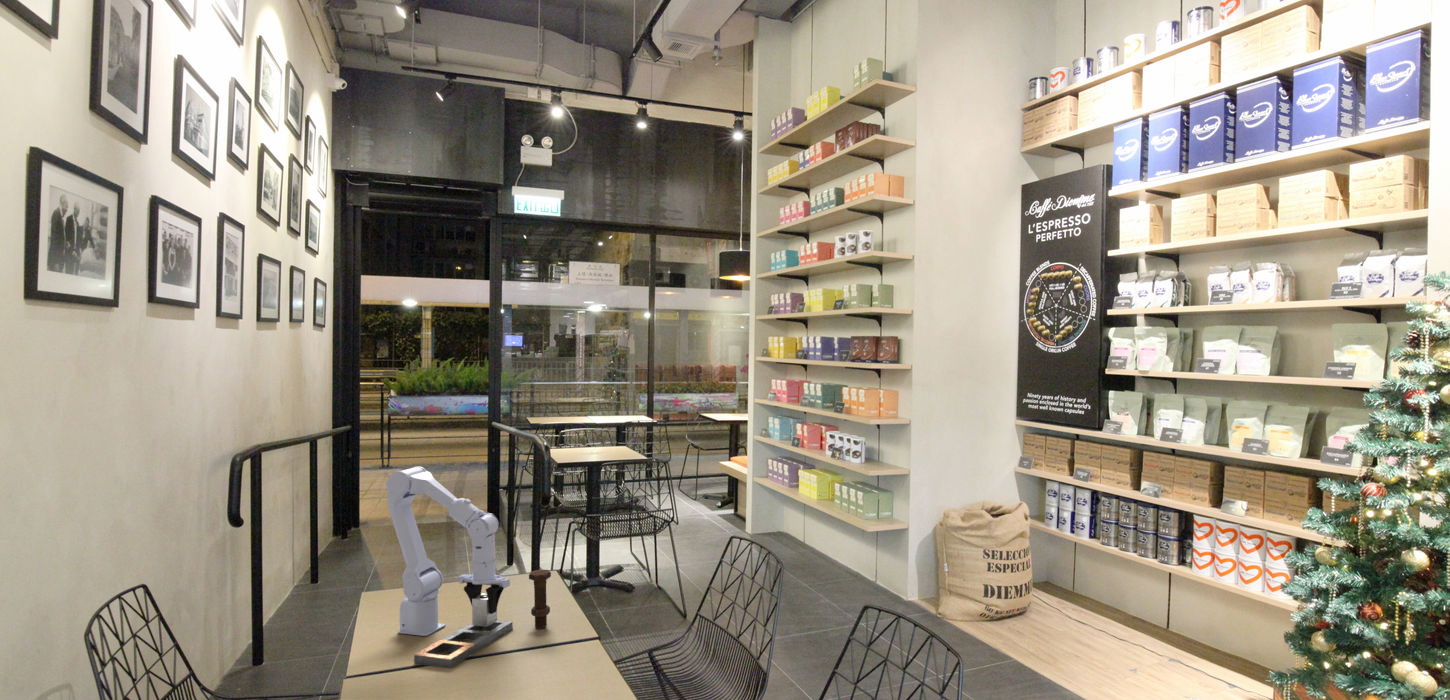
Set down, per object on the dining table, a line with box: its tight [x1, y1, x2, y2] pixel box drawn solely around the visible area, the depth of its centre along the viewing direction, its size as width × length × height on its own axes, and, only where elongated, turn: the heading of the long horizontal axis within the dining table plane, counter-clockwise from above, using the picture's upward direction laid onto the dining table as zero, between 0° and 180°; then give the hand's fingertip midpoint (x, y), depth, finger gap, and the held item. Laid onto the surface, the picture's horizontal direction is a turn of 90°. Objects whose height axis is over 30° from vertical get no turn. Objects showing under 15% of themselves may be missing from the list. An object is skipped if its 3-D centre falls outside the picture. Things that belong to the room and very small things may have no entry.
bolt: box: [528, 569, 552, 629], centre depth 199 cm, size 6×5×15 cm
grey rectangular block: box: [471, 592, 498, 627], centre depth 195 cm, size 4×4×7 cm
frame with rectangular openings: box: [413, 619, 514, 669], centre depth 187 cm, size 10×26×2 cm, turn 163°
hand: (484, 611), depth 195 cm, fingers closed on grey rectangular block, 4 cm apart
